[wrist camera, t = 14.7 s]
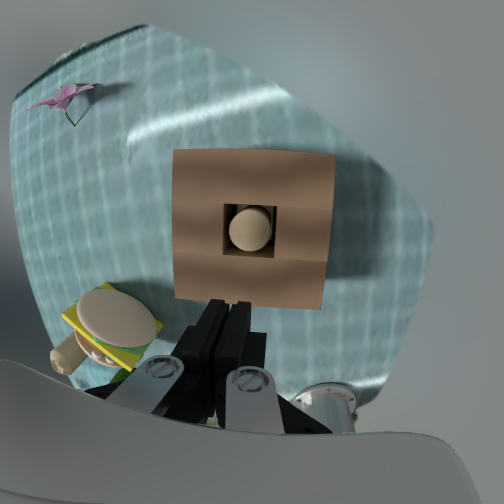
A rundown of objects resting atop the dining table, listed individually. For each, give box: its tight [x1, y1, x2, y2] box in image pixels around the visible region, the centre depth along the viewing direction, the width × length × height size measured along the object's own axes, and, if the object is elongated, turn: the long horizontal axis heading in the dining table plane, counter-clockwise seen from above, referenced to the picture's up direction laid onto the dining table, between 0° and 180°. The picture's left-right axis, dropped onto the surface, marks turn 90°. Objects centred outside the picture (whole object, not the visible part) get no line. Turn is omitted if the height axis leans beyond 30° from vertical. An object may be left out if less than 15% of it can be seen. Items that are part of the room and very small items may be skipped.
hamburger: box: [61, 282, 164, 372], centre depth 35 cm, size 12×8×12 cm
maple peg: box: [229, 205, 271, 251], centre depth 30 cm, size 4×4×7 cm
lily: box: [23, 83, 96, 127], centre depth 29 cm, size 12×12×10 cm
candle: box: [50, 331, 88, 375], centre depth 39 cm, size 6×6×10 cm
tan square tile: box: [237, 204, 273, 240], centre depth 34 cm, size 4×4×1 cm
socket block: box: [172, 149, 336, 310], centre depth 31 cm, size 16×16×9 cm
